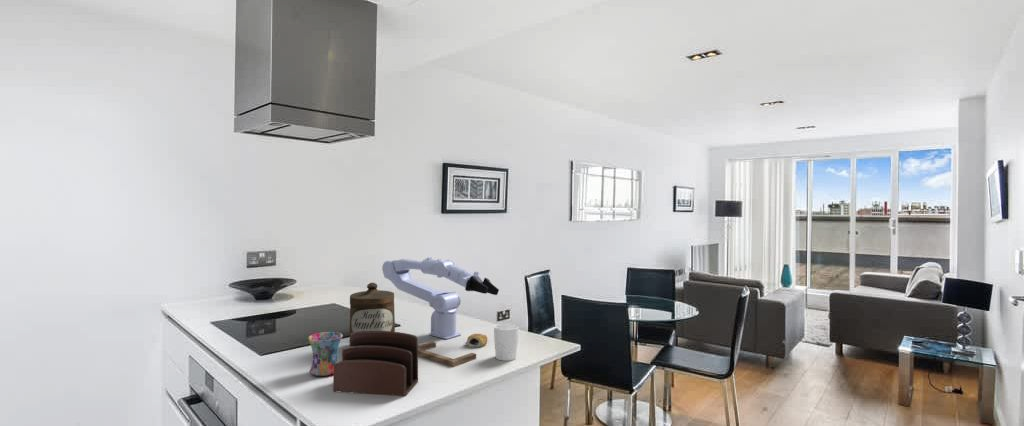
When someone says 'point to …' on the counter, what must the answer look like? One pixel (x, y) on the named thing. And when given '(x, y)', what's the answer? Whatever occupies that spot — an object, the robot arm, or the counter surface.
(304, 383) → the counter surface
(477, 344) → the pastry
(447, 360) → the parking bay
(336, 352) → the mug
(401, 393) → the letter holder
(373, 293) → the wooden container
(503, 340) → the white cup
